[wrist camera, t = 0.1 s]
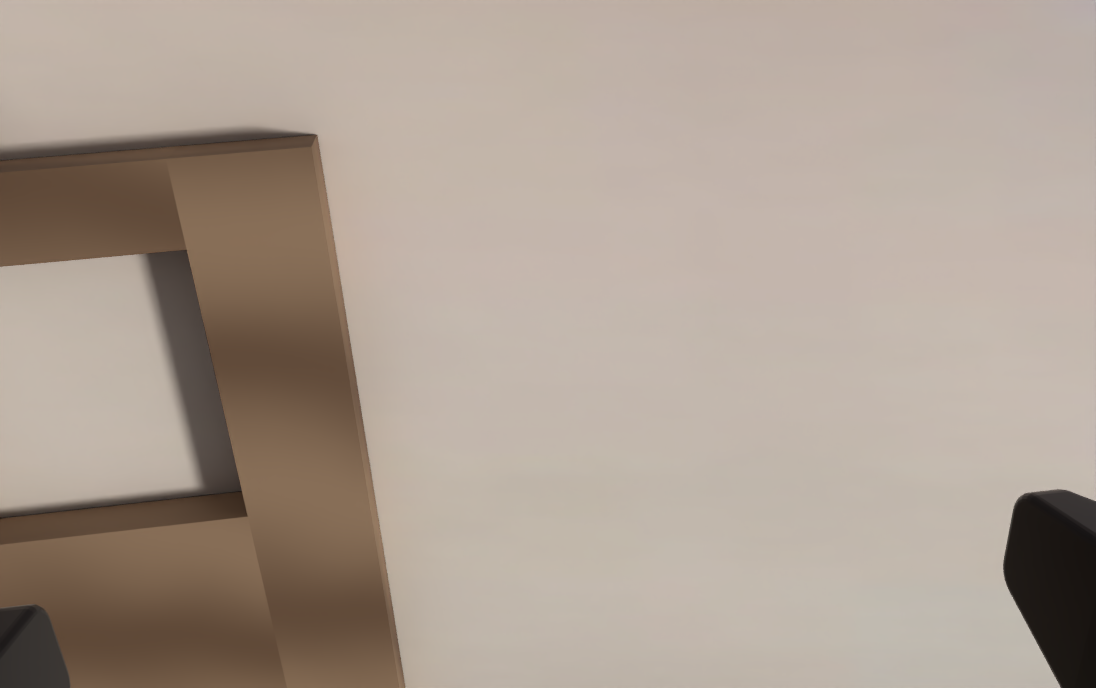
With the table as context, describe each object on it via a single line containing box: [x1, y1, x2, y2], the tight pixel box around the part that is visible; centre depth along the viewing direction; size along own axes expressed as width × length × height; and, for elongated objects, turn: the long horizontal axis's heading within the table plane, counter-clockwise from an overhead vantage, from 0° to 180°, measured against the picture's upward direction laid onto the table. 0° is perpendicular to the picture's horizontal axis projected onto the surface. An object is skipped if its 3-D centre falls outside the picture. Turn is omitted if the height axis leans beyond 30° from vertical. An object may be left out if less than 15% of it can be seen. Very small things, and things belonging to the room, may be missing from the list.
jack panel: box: [0, 135, 405, 688], centre depth 25 cm, size 26×13×1 cm, turn 3°
